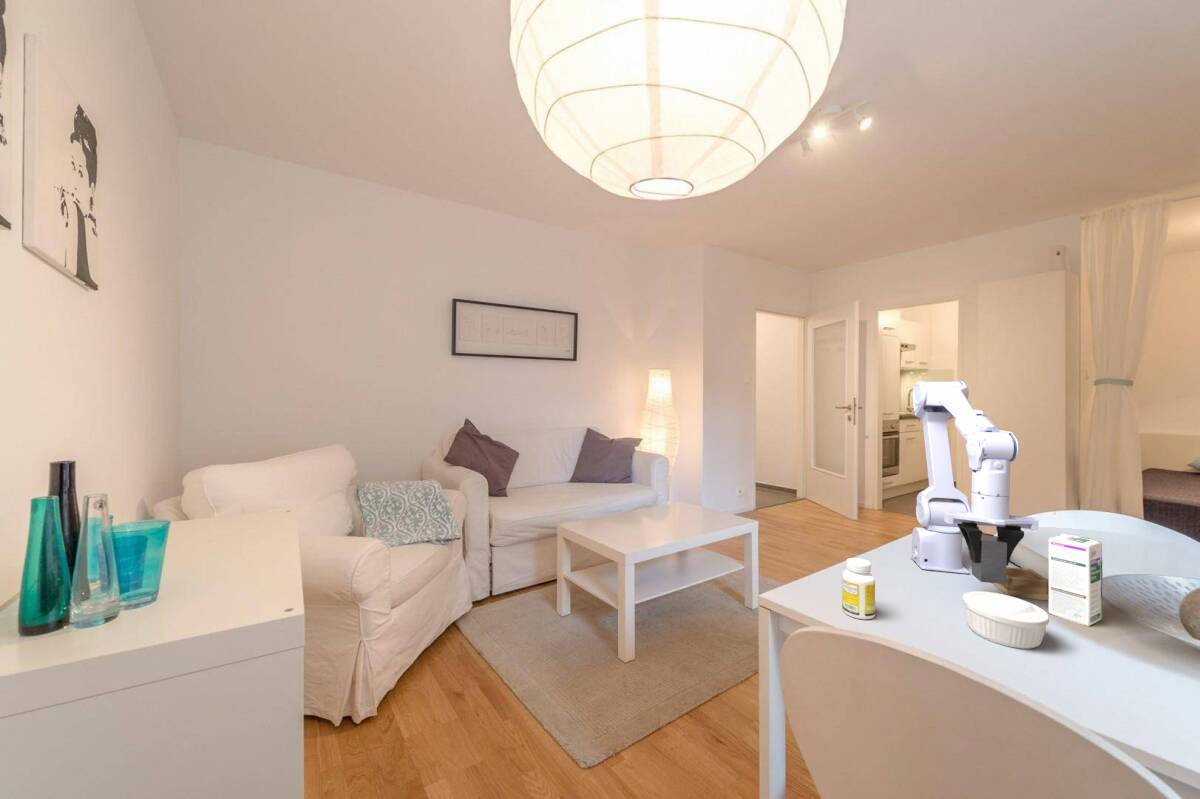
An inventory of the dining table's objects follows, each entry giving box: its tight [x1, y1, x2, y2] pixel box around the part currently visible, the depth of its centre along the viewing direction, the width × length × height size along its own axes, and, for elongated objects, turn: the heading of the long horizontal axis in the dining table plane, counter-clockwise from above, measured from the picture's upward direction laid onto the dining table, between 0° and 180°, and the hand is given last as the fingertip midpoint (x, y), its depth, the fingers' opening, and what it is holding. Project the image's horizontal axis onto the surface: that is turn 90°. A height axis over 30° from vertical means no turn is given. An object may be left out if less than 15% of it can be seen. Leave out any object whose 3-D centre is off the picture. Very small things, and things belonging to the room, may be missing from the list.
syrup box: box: [1048, 533, 1103, 627], centre depth 87 cm, size 6×6×14 cm
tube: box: [1009, 542, 1049, 580], centre depth 106 cm, size 5×5×25 cm
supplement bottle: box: [841, 557, 876, 620], centre depth 88 cm, size 5×5×10 cm
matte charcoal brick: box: [971, 534, 1008, 584], centre depth 92 cm, size 4×4×8 cm
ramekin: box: [962, 590, 1050, 650], centre depth 81 cm, size 11×11×5 cm
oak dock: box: [991, 566, 1049, 602], centre depth 98 cm, size 7×7×4 cm
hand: (988, 562), depth 92 cm, fingers closed on matte charcoal brick, 4 cm apart
